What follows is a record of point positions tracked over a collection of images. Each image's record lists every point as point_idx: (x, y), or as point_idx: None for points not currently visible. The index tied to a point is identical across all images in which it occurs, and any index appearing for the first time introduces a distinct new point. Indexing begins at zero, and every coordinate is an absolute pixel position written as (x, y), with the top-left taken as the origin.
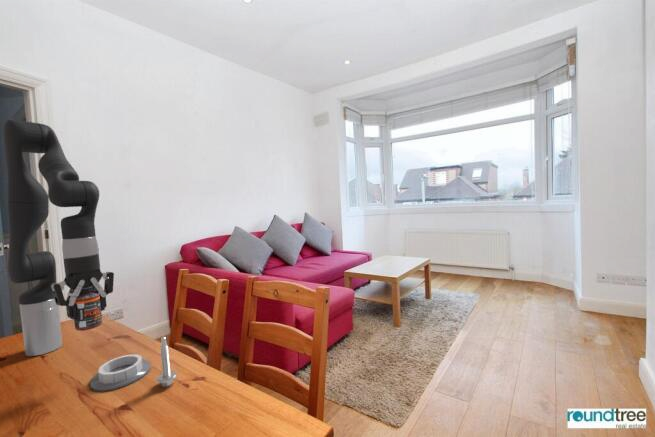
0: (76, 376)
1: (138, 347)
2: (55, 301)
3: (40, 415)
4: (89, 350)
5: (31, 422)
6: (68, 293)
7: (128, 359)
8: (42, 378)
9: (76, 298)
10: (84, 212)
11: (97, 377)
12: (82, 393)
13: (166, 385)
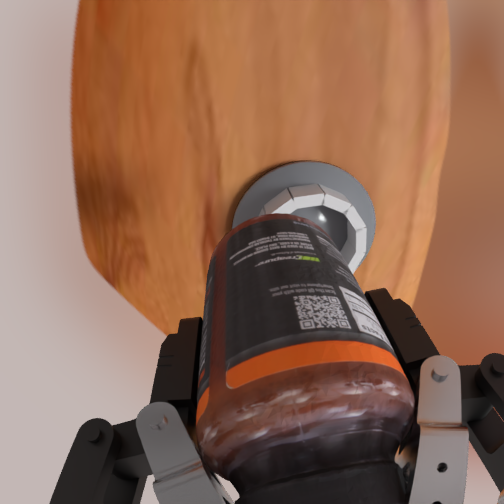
0: (220, 118)
1: (411, 93)
2: (74, 452)
3: (132, 257)
4: None
5: (120, 269)
6: (164, 502)
7: (344, 214)
8: (147, 42)
9: (223, 477)
10: None
11: (255, 205)
12: (210, 239)
13: None
